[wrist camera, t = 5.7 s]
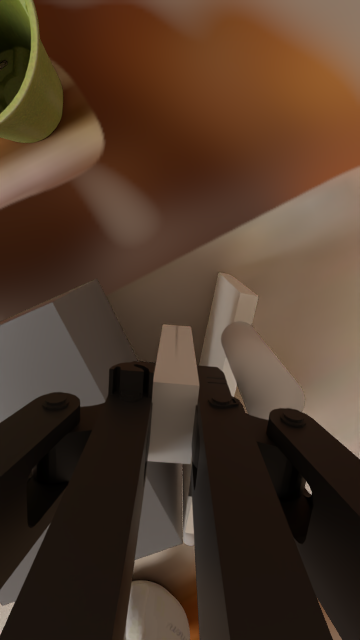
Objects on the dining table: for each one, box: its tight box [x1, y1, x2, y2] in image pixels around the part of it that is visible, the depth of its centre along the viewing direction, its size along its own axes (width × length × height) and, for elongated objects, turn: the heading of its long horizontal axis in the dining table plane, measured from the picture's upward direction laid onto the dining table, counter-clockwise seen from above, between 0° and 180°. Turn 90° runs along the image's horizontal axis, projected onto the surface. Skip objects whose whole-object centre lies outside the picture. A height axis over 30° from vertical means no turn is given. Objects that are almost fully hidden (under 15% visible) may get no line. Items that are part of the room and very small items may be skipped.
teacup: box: [124, 580, 190, 640], centre depth 32 cm, size 14×11×8 cm
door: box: [182, 272, 305, 546], centre depth 21 cm, size 2×17×17 cm, turn 170°
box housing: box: [0, 279, 183, 606], centre depth 25 cm, size 14×18×10 cm
